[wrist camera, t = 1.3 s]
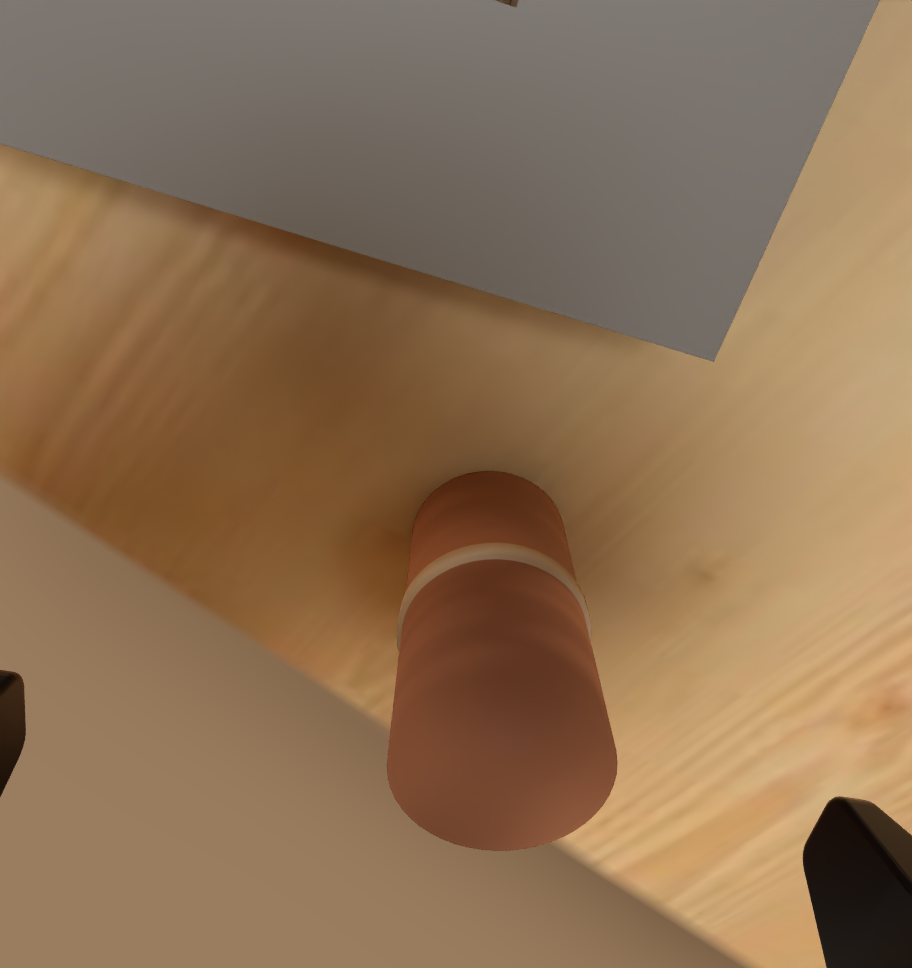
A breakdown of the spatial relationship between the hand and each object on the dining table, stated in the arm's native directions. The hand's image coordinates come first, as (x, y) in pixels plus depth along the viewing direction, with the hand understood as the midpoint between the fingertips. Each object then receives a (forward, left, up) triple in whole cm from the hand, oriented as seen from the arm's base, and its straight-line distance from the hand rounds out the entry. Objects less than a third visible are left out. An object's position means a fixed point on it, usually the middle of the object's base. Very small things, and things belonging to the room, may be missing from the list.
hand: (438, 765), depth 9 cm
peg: (-2, +3, -12) cm, 12 cm away
